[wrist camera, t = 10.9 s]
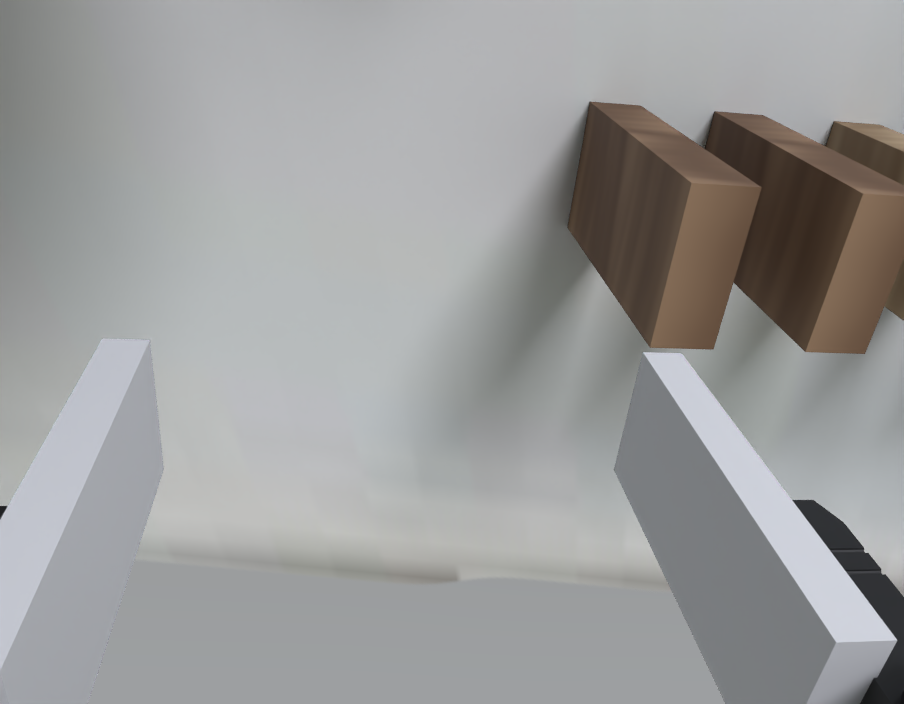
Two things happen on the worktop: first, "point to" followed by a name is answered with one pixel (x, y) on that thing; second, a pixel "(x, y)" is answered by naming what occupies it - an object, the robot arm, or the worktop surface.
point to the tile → (884, 155)
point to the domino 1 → (660, 223)
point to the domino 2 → (813, 233)
